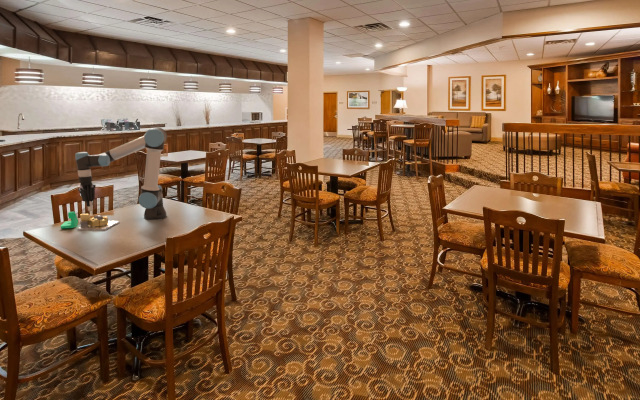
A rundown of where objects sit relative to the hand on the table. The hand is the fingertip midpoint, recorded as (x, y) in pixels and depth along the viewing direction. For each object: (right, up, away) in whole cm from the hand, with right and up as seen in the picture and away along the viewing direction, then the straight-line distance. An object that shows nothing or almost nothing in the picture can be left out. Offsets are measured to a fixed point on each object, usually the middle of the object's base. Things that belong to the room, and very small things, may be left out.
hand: (90, 210), depth 269 cm
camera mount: (-12, -11, -3) cm, 16 cm away
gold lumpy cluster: (+4, -9, -3) cm, 10 cm away
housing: (+7, -10, -2) cm, 12 cm away
